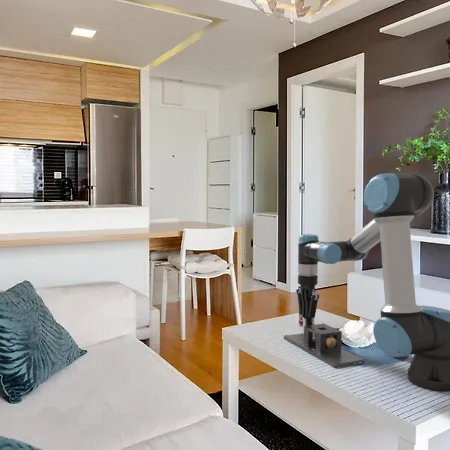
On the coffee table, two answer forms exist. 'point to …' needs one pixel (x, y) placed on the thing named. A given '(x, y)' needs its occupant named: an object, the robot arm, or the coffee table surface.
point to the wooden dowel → (327, 341)
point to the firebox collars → (323, 345)
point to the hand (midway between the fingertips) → (306, 333)
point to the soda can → (302, 320)
